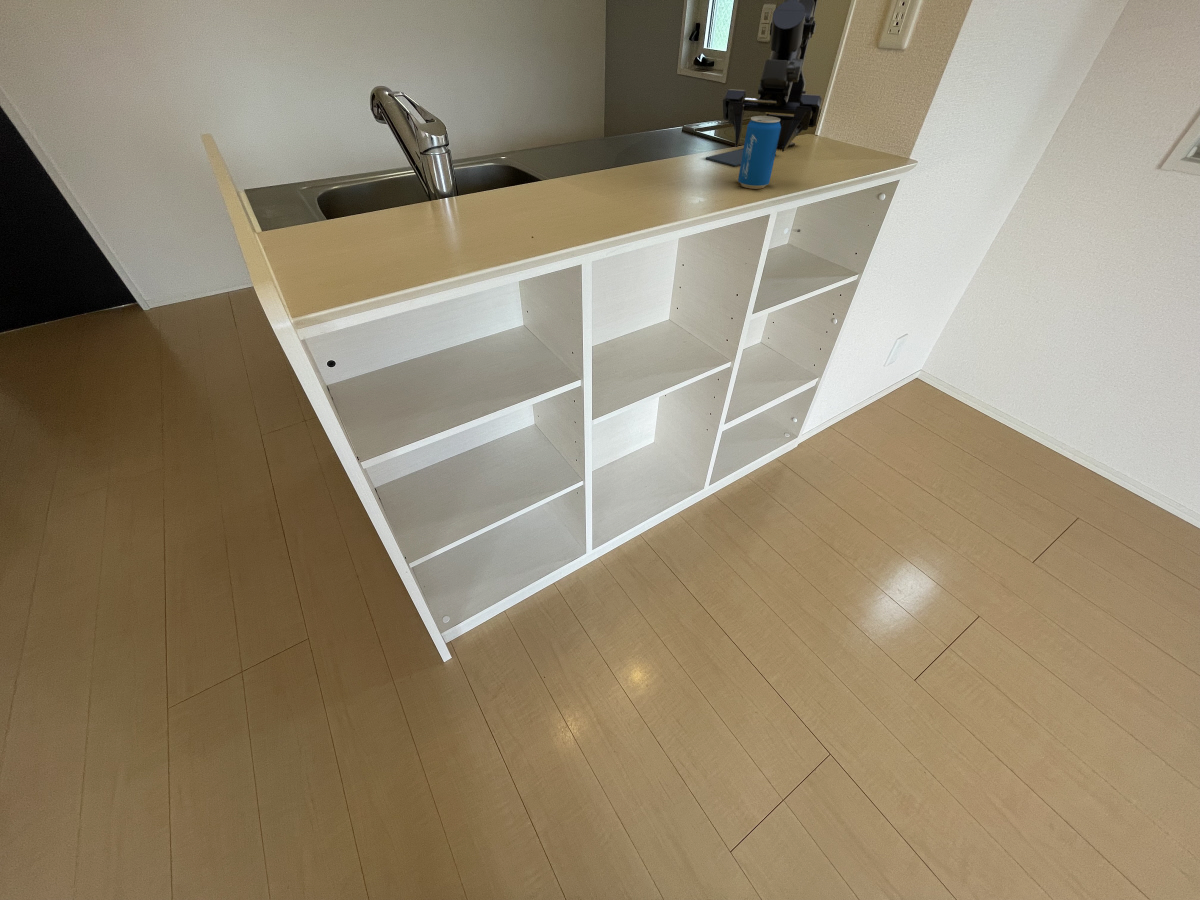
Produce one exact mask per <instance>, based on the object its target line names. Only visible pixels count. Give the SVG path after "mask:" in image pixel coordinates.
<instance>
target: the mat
mask: <svg viewBox="0 0 1200 900" xmlns="http://www.w3.org/2000/svg"><path fill="white" fill-rule="evenodd" d="M743 149H744V147H743V148H740V149H735V150H731V151H727V152H723V153H718V154H714V155H710V156H706V157H705V160H708V161H712V162H715V163H720V164H723V165H725V166H726V165H727V166H731V167H733V168H734V167H740V166H741V160H742V154H743ZM775 157H777V153H776V154H775Z"/></svg>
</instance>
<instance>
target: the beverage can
mask: <svg viewBox="0 0 1200 900" xmlns="http://www.w3.org/2000/svg"><path fill="white" fill-rule="evenodd" d="M780 130H781V125H780V118H777V117H772V116H767V115H756V116H755V115H754V116H751V117H750V121H749V122H748V123H747V127H746V131H745V138H744V144H743V148H744V149H743V148H742V149H743V154H742V160H741V165H739V172H738V178H737V182H738V183H739V184H740V186H741V187H743V188H746V189H751V190H759V189H764V188H765V187H766V186H767V185H769V184H770V182H771V177H772V174H773V173H772V172H773V167H774V163H775V158H776V156H775V154H776V155H777V149H778V148H777V144H778V140H779V135H780Z"/></svg>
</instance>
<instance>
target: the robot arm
mask: <svg viewBox="0 0 1200 900" xmlns="http://www.w3.org/2000/svg"><path fill="white" fill-rule="evenodd" d="M818 2H819V0H784V1H782V3H781V4H779V5H778V6H777V7H776V8H775V10H774V11H773V12H772V17H771V18H772V19H771V22H770V26H769V36H770V46H769V47H770V50H771V52H770V55H769V59H766V60H764V63H763V66H762V67H763V68H762V72H761V76H760V82H759V85H758V89H757V95H759V96H758V98H753V97H752V98H751V97H746V96H747V94H746V93H747V90H746V89H736V88H734V89H733V88H729V89H727V90H726V91H725V92H724V95H723V99H722V117H723V120H724V121H727V123H728V124H729V125H732V126H733V130H734V131H733V132H734V136H735V137H734V140H735V142H734V143H735V148H738V147H739V145H740V141H741V136H742V132H743V131H742V130H743V124H744V115H745V112H757V113H758V112H759V113H764V114H765V115H766V116H772V117H777V118H780V125H781V130H780V135H779V140H778V144H777V149H781V152H785V150H786V149H788V148H789V147H794V146H796V143H795V142H793V141H794V139H795V138H796V137H797V136H798V135H799V134H800V133H801V132H803V131H808V130H809V128H814V127H816V126H817V123H818V119H819V115H820V112H821V106H822V103H823V98H822V96H821V94H816V93H815V94H814V93H807V90H805V88H806V86H807V85H806V84H807V81H806V77H805V74H804V73H805V72H804V69H803V68H804V65H805V59H806V56H807V55H806V54H807V51H808V46H809V43H810V42H809V41H810V40H811V39H812V38H813V35H814V34H815V33H816V29H817V23H816V16H815V15H816V11H817V7H818Z"/></svg>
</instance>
